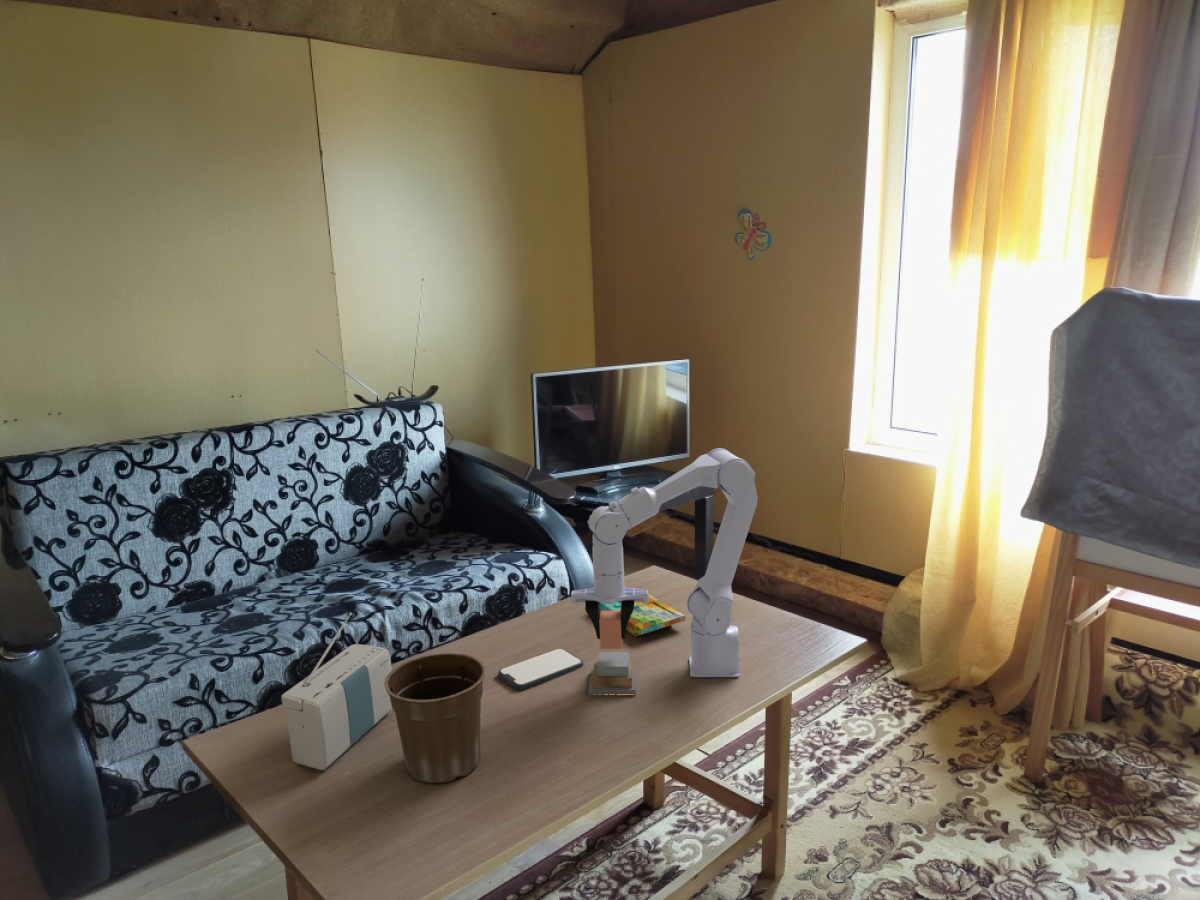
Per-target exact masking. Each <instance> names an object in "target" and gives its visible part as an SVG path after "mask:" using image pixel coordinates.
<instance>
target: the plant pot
mask: <svg viewBox="0 0 1200 900" xmlns="http://www.w3.org/2000/svg"><path fill="white" fill-rule="evenodd" d="M485 676H486V666H485V664H484V663H483V662H482V661H481V660H480V659H478V658H476V657H475V656H472V655H469V654H465V653H461V652H460V653H459V652H439V653H431V654H426V655H421V656H418V657H415V658H411V659H409V660H407V661H405V662H403V663H400V664H399V665H397V666H396V667H395V668H392V671H391V672H390V673H389V674H388V675H387V677H386V679H385V682H384V685H385V689H386V691H387V693H388V694H389V696H390V701H391V705H392V708H393V709H392V710H393V712H394V714H395V718H396V723H397V724H396V725H397V729H398V732H399V738H400V742H401V748H402V751H403V752H402V753H403V757H404V762H405V763H404V764H405V768H406V771H407V772H408V773H409V775H410V776H411V778H413V779H414V780H416V781H418V782H421V783H426V784H443V783H445V784H446V783H450V782H453V781H454V780H455V779H456V778H458V777H465V776H467V775H469V774H470V773H471V772H472V771H473V770H475V769H476V767H477V766H478V764H479V762H480V759H481V712H482V711H481V709H482V707H481V706H482V705H481V701H482V696H483V692H484V691H483V690H484V689H483V686H484V682H483V681H484V679H485Z"/></svg>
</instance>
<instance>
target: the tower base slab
mask: <svg viewBox="0 0 1200 900" xmlns="http://www.w3.org/2000/svg"><path fill="white" fill-rule="evenodd" d="M593 669H594V666H592V667H591V670H590V675H589V682H588V687H587V696H588V695H594V694H595V695H599V694H601V695H604V694H608V695H609V694H615V695H617V694H634V695H636V694H637V682H636V680H637V679H638V678H637V677H638V667H637V666H633V678H632V688H593V684H592V676H593ZM636 696H637V695H636Z"/></svg>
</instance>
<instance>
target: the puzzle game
mask: <svg viewBox="0 0 1200 900" xmlns="http://www.w3.org/2000/svg"><path fill="white" fill-rule="evenodd" d="M632 588H633V589H640V588H639V587H637V586H635V587H632ZM601 611H621V602H614V603H613V604H604V603H603V602H600V613H601ZM685 621H686V615H684V614H683V613H681V612H680V611H678V610H676V609H675V608H673V607H671V606H670V605H667V604H666V603H665V602H662V601H660V600H659V599H658V598H655V597H654V596H653V595H651V594H649V593H648V603H642V602H634V610H633V612H632V614H631V617H630V619H629V621H628V624H627V628H626V632H628V633H630V634H632V635H633V636H634V637H639V636H642V635H645V634H648V633H651V632H655V631H658V630H661V629H664V628H667V627H671V626H672V625H675V624H678V623H682V622H685Z"/></svg>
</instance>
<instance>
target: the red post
mask: <svg viewBox="0 0 1200 900" xmlns="http://www.w3.org/2000/svg"><path fill="white" fill-rule="evenodd" d="M599 624H600V639H599V640H600V641H599V642H600V643H599V644H600V650H622V648H623V640H624V639H622V637H621V629H622V620H621V611H601V613H600V619H599Z"/></svg>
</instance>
